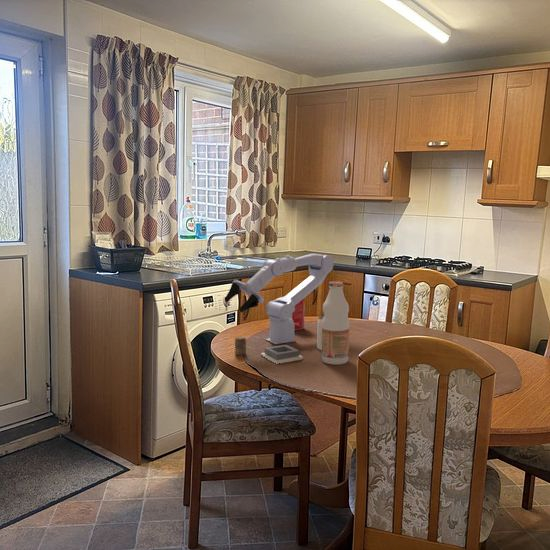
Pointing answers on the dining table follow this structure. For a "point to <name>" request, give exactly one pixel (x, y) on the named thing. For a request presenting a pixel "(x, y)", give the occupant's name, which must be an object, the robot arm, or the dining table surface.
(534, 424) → the dining table surface
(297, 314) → the soda can
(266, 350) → the socket block
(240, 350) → the peg
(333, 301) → the fruit juice
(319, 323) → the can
